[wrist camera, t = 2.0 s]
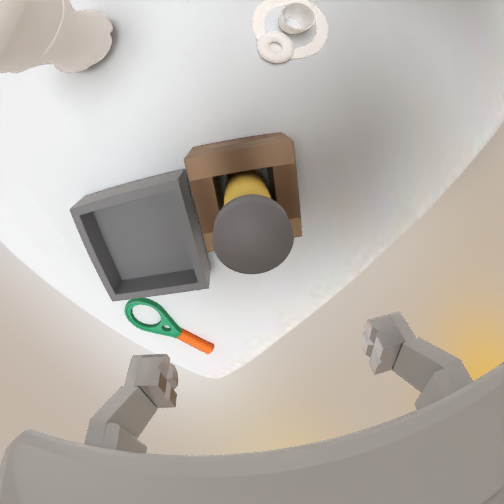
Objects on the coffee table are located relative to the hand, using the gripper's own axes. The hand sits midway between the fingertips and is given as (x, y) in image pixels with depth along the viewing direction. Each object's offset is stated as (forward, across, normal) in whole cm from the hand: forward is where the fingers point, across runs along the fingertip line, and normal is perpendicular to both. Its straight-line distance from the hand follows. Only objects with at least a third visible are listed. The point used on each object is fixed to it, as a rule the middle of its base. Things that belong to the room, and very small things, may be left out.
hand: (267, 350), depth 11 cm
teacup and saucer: (+23, -5, -17) cm, 29 cm away
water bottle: (+22, +13, -20) cm, 33 cm away
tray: (+22, +12, +4) cm, 26 cm away
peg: (+22, 0, 0) cm, 22 cm away
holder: (+22, 0, 0) cm, 22 cm away
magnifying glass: (+23, +14, +20) cm, 34 cm away
